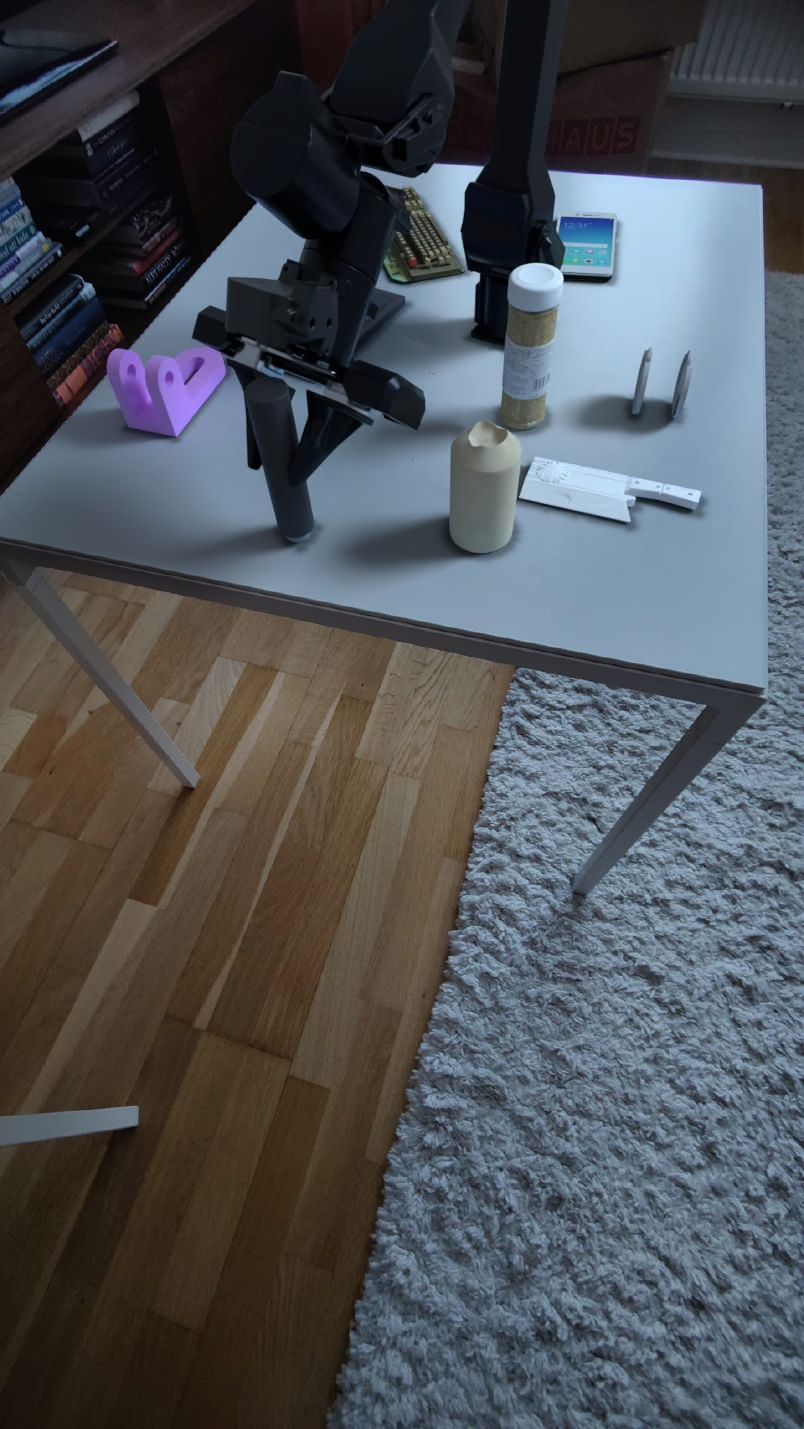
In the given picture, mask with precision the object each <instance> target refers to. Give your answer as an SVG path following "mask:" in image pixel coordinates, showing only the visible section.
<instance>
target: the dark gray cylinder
mask: <svg viewBox="0 0 804 1429" xmlns="http://www.w3.org/2000/svg"><path fill="white" fill-rule="evenodd" d="M288 386H289V385H288V383H287V382H286V381H285V380H284V379H283V380H282V379H280V378H277V377H262V378H258V379H256V380H254V381H252V382H250V383H249V384H248V385H247V386H246V388H245V391H244V394H243V396H244V395H245V399H246V403H247V406H248V410H249V414H250V418H251V422H252V426H253V430H254V434H255V438H256V442H257V446H258V450H259V454H260V458H261V462H262V466H261V467H262V469H263V473H264V478H265V482H266V485H267V489H268V493H269V497H270V501H271V505H272V508H273V514H274V516H275V521H276V525H277V529H278V531H279V533H280V534H281V535H283V536H284V537H286V539H287V540H288V541H289V542H291V543H296V544H297V543H302V542H305V541H306V540H308V539H309V538H310V536H311V532H312V531H313V530H314V526H315V518H314V513H313V508H312V502H311V498H310V497H311V496H310V493H309V487H308V481H307V480H306V481H305V482H304V483H303V484H302V485H301V486H300V487H299V488H298V489H296V488H292V487H290V486H289V485H288V481H289V476H290V471H291V467H292V463H293V460H294V457H295V454H296V451H297V448H298V445H299V442H300V440H299V435H298V431H297V425H296V421H295V415H294V410H293V404H292V401H291V399H290V394H289V388H288Z"/></svg>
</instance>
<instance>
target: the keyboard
mask: <svg viewBox="0 0 804 1429" xmlns="http://www.w3.org/2000/svg"><path fill="white" fill-rule="evenodd" d="M397 188H398V189H402V190H403V191H404V200H405V205H406V208H407V211H408V213H409V215H410V221H411V231H410V233H409V234H403V233H400V232H396V231H394V234H393V237H392V240H391V243H390V246H389V249H388V252H387V255H386V258H385V261H384V264H383V266H384V268H385V270H386V272H387V274H388V275H389V277H390V278H391V279H392V280H395V281H398V282H402V283H405V284H408V283H411V282H416V281H420V280H421V281H422V280H428V279H432V278H438V277H445V276H452V275H461V274H464V273H466V270H465V267H464V266H463V264H462V263H461V261H460V260H459V259H458V257H457V255H456V254H455V252H454V250H453V247H452V245H450V244H449V240H448V238H447V237H446V235H445V234H444V232H443V231H442V229H441V227H440V225H439V223H438V222H437V221H436V220H435V218H434V216H433V215H432V214H431V213H430V212H429V211H428V210H427V209H426V207H425V204H424V201H423V200H422V199H421V198H420V195H419V193H418V192H417V191H416V189H415V188H414V187H413V185H406V186H402V188H401V187H397Z"/></svg>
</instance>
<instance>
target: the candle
mask: <svg viewBox="0 0 804 1429" xmlns="http://www.w3.org/2000/svg"><path fill="white" fill-rule="evenodd" d="M522 447H523V446H522V444H521V442H520V440H519V439H518V438H517V436H515V435H514V434H513V433H512V432H510V431H509V430H508V429H507V428H503V427H501V426H499V425H497V424H495V423H493V422H492V421H490V420H487V419H482V420H479V421H478V422H477V423H475V424H474V425H472V426H471V427H469V428H467V429H465V430H463V431H462V432H461V433H459V434H458V435H457V436H456V437H455V438H454V439H453V441H452V443H451V445H450V454H449V455H450V458H449V459H450V460H449V461H450V464H449V465H450V466H449V470H450V471H449V473H450V474H449V522H448V523H449V533H450V537H451V539H452V541H453V542H454V544H455V545H456V546H458V547H459V548H460V549H462V550H464V551H467V552H470V553H475V554H488V553H492V552H496V551H498V550H500V549H502V548H504V547H505V546H506V545H507V544H508V543H509V541H510V540H511V538H512V535H513V532H514V523H515V516H516V509H517V508H516V507H517V498H518V490H519V482H520V480H519V479H520V472H521V463H522V456H523V448H522Z"/></svg>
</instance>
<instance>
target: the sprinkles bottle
mask: <svg viewBox="0 0 804 1429" xmlns="http://www.w3.org/2000/svg"><path fill="white" fill-rule="evenodd" d="M563 289H564V279H563V275H562V273H561V271H560V270H559V269H557V268H556V267H554V266H551V265H548V264H543V263H531V264H525V265H522V266H519V267H518V268H516V269H515V270H513V271H512V273H511V274H510V276H509V283H508V295H507V298H508V301H509V304H508V305H509V310H508V323H507V332H506V338H505V347H504V352H503V365H502V376H501V377H502V378H501V380H502V381H501V388H502V390H501V402H500V408H499V418H500V421H502V422H503V423H504V425H506V426H508V427H509V428H513V429H515V430H517V429H519V430H528V429H532V428H535V427H537V426H539V425H540V424H542V422H543V421H544V419H545V415H546V401H547V393H548V390H549V385H550V379H551V371H552V364H553V357H554V349H555V341H556V328H557V318H558V311H559V306H560V303H561V301H562V297H563Z"/></svg>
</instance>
